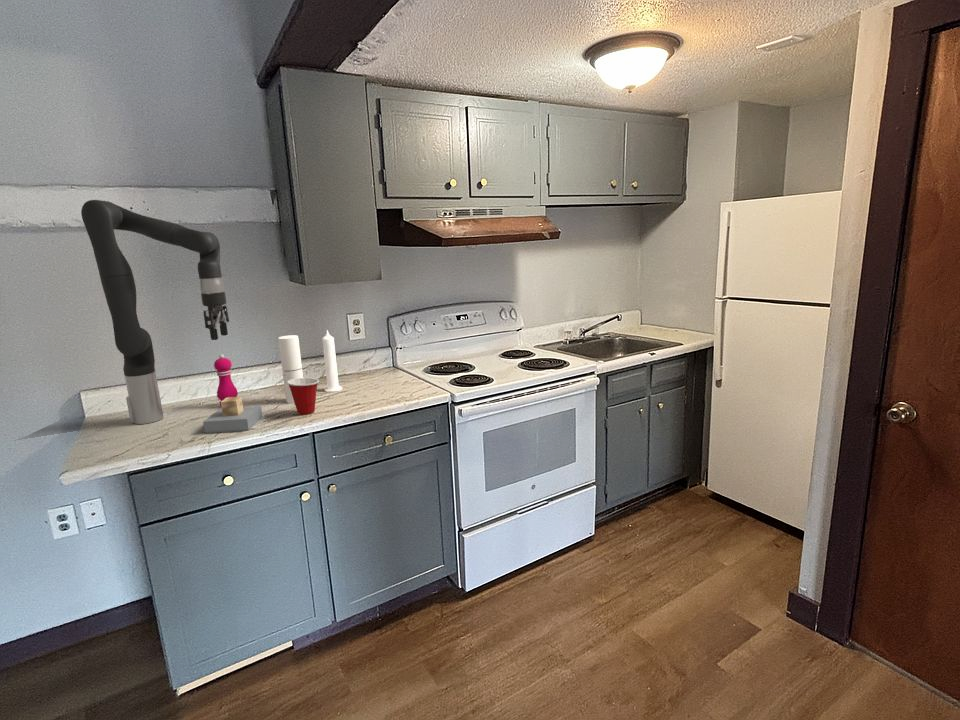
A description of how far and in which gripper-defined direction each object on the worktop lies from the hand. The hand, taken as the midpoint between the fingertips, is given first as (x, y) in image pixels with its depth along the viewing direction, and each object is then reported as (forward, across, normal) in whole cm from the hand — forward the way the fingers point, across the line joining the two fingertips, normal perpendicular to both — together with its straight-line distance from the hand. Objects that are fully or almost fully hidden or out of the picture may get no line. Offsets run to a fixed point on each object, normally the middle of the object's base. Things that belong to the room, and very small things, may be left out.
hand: (219, 337), depth 188 cm
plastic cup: (+28, +4, +28) cm, 40 cm away
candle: (+28, -24, +32) cm, 49 cm away
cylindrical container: (+28, -12, +20) cm, 37 cm away
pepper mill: (+28, -11, -5) cm, 31 cm away
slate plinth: (+28, +13, +6) cm, 32 cm away
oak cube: (+24, +13, +6) cm, 28 cm away
